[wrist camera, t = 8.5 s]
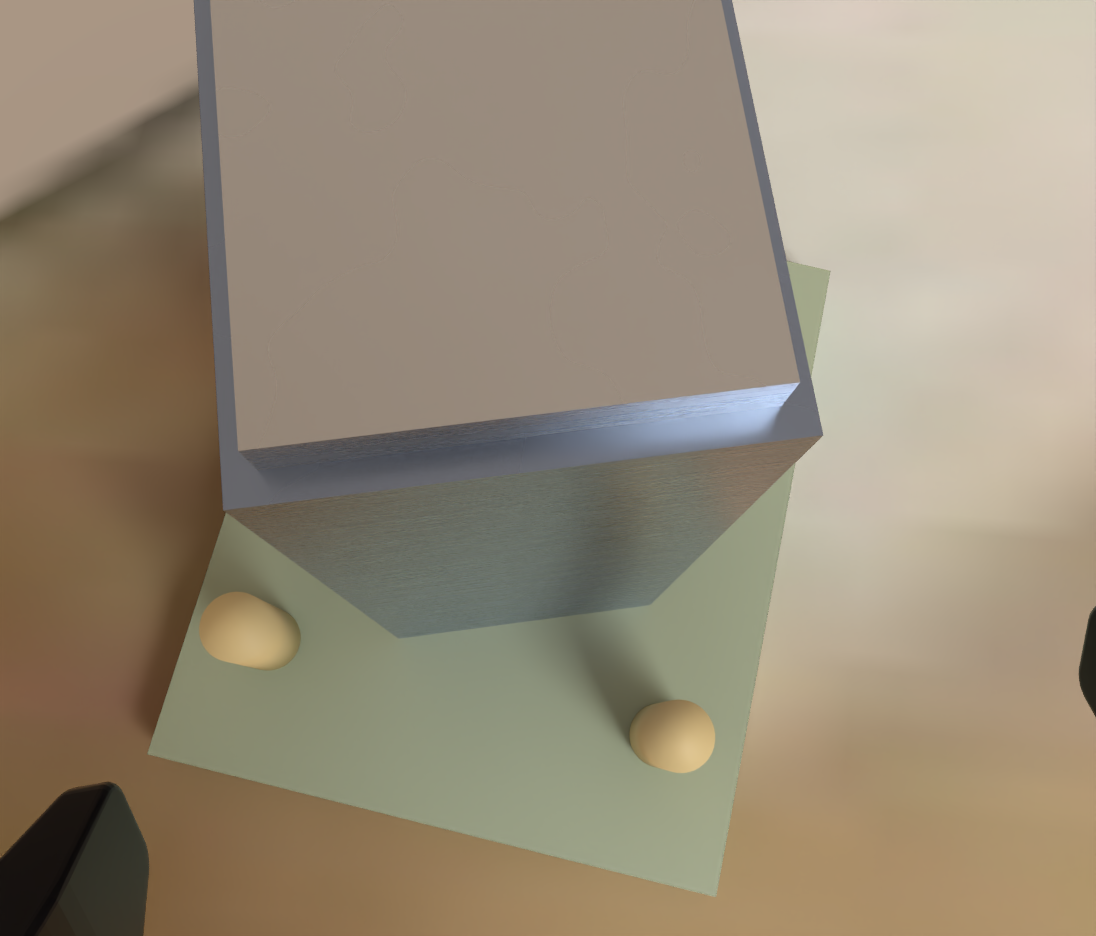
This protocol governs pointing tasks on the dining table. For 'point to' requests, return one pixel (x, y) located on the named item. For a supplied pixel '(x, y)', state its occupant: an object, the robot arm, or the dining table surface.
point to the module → (493, 297)
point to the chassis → (496, 699)
